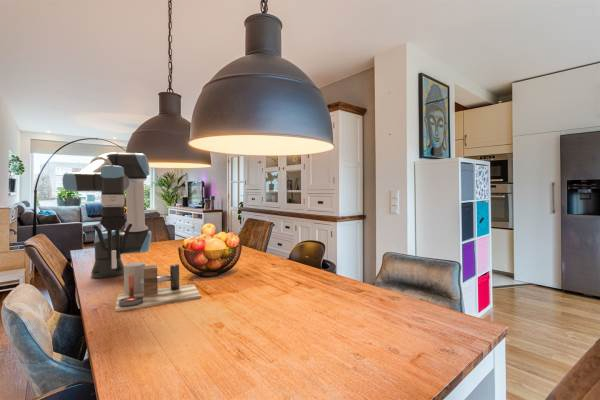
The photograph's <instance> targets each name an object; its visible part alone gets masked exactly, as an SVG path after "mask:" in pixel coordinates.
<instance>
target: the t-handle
mask: <svg viewBox="0 0 600 400" xmlns="http://www.w3.org/2000/svg"><path fill="white" fill-rule="evenodd" d="M169 269H170V270H169V271H170V273H169V275H161V276H160V275H159V276H157V281H158V283H164V282H170V287H171V290H177V289H179V286H180V264H171V265H170V267H169ZM142 284H144V278H143V279H140V285H142Z"/></svg>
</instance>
